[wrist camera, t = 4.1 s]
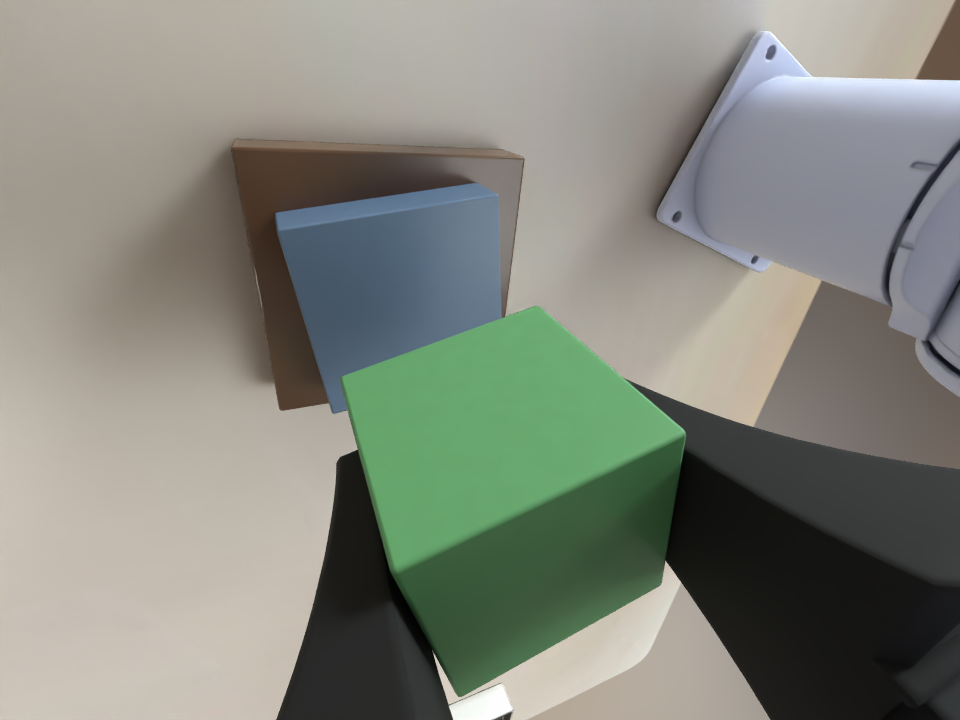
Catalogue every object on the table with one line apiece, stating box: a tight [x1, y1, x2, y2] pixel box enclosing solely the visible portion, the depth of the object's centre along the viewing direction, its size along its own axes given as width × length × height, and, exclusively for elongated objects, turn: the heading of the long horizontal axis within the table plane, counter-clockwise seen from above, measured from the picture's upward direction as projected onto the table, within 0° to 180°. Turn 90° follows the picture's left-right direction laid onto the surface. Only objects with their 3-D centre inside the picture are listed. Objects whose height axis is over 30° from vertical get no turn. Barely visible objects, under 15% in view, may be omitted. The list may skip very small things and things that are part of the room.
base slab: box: [231, 139, 524, 411], centre depth 17 cm, size 9×9×2 cm
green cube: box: [340, 306, 686, 697], centre depth 9 cm, size 5×5×5 cm
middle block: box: [275, 183, 501, 414], centre depth 15 cm, size 6×6×2 cm
